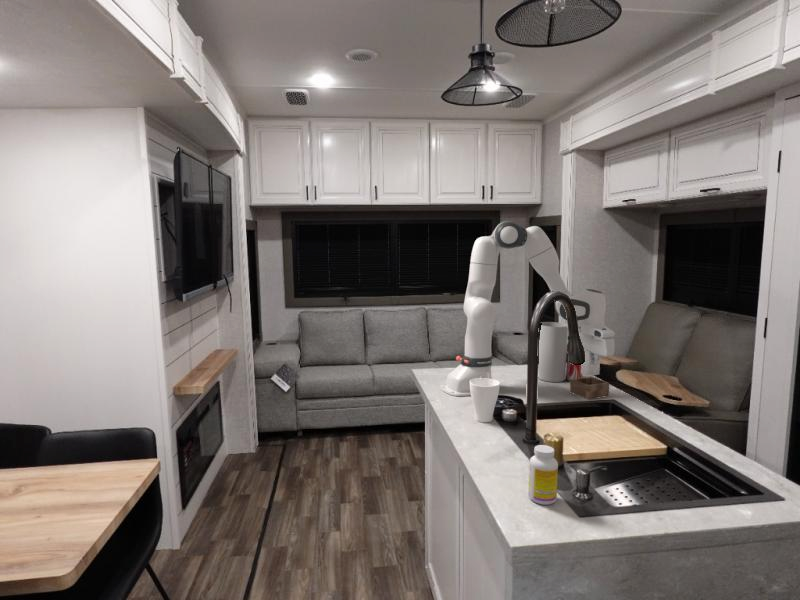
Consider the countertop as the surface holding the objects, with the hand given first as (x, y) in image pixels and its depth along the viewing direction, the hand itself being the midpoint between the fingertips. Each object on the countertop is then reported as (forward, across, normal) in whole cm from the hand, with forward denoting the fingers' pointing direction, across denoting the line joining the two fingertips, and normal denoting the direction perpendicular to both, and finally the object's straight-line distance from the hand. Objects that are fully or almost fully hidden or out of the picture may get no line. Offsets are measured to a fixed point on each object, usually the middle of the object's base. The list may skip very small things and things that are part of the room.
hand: (590, 363), depth 203 cm
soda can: (+13, -18, +9) cm, 24 cm away
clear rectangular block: (+5, 0, 0) cm, 5 cm away
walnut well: (+13, 0, 0) cm, 13 cm away
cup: (+13, +7, -56) cm, 58 cm away
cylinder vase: (+13, -24, +1) cm, 27 cm away
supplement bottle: (+13, +58, -73) cm, 94 cm away
